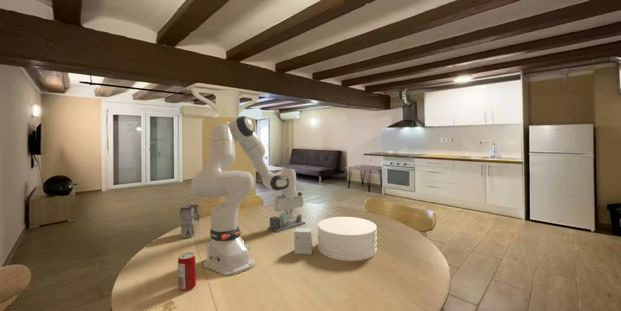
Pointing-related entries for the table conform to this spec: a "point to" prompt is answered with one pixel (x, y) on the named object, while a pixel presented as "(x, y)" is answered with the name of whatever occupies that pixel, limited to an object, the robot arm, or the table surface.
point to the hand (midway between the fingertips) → (289, 216)
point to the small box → (303, 241)
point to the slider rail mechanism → (277, 226)
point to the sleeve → (284, 218)
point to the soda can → (186, 271)
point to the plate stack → (347, 238)
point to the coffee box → (189, 220)
